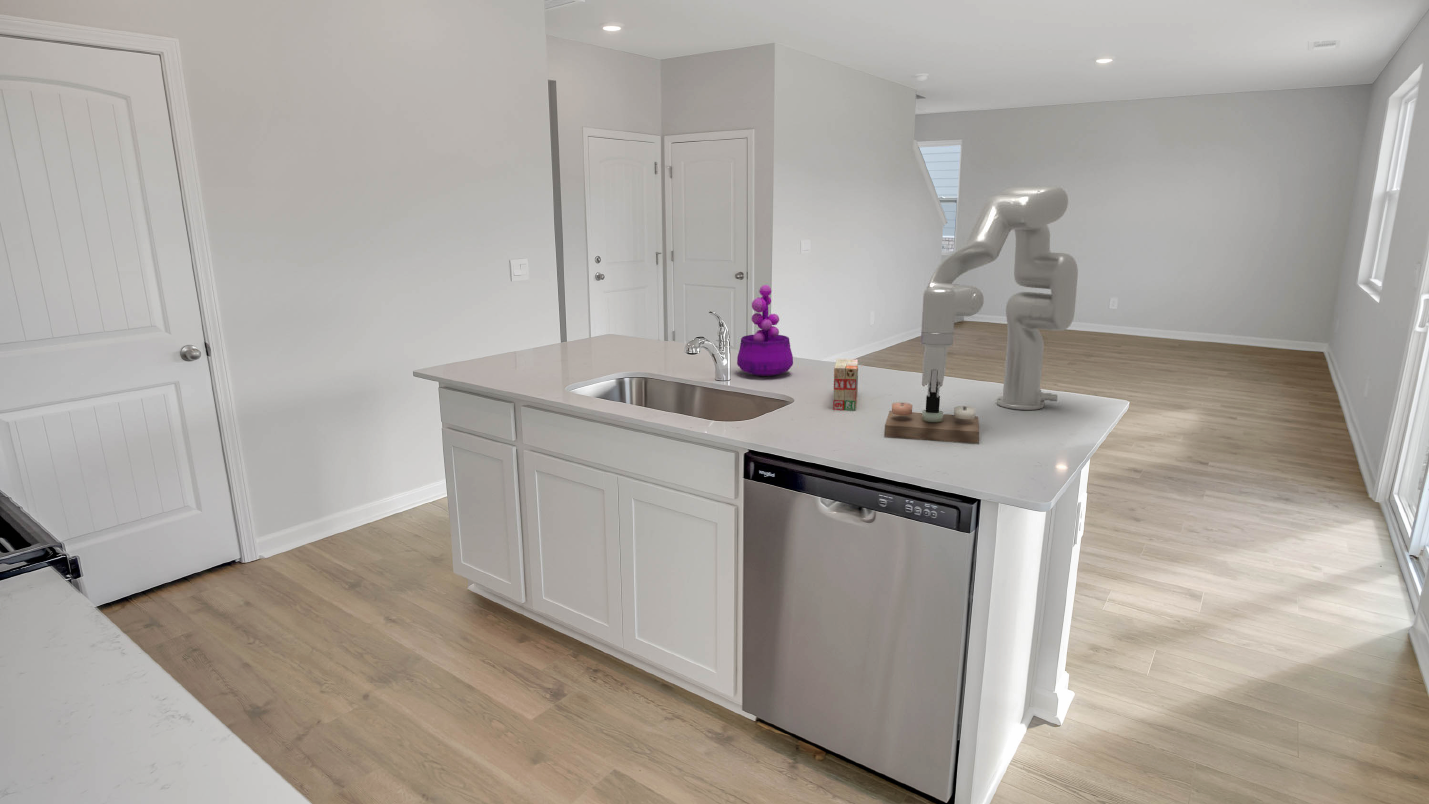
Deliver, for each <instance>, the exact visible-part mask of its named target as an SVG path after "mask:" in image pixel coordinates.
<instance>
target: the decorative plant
mask: <svg viewBox="0 0 1429 804" xmlns="http://www.w3.org/2000/svg"><path fill="white" fill-rule="evenodd" d="M758 292H759V294H760V295H761V297H756V298H754V299H753V300H752V302H751V308H752V310H753V311H754V312H756V313H753V314H752V315H751V321H752V323H753V324H754V325H757V327H758V328H759V330H757V331H756V332H755V333H754V334H748V335H744V336H742V337H741V338H740V345H739V349H738V354H737V360H736V365H737V366H738V367H739V369H740V370H741V371H743V372H745V373H747V374H750V375H753V376H759V377H760V376H761V377H770V376H771V377H772V376H778V375H780V374H783V373H786V372H788V371H789V370H790V369H791V368H792V367H793V365H794V355H793V352H792V349H791V343H790V338H789V336H787V335H782V334H780V330H779V328H778V327H776V325H778V324H779V321H780V316H779V315H778V314H776V313H770V314H769V305H770V304H771V303H772V299H771V297H770V295H771V294H772V289H771V287H770V285H767V284H764V285H762V286H760V288H759V290H758Z"/></svg>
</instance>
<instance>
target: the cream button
mask: <svg viewBox="0 0 1429 804" xmlns="http://www.w3.org/2000/svg"><path fill="white" fill-rule="evenodd" d="M953 415H954V417H956V418H959V419H974V418H975V416H976V408H975V407H973V406H967V405H961V406H960V405H959V406H954V408H953Z"/></svg>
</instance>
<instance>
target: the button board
mask: <svg viewBox="0 0 1429 804" xmlns="http://www.w3.org/2000/svg"><path fill="white" fill-rule="evenodd" d="M883 436H884V438H894V439H907V440H908V439H909V440H910V439H911V440H922V441H934V442H936V441H937V442H952V443H963V444H964V443H965V444H975V443H978V444H979V442H980V423H979V416H976V415H975V418H974V419H959V418H956V417H954V414H944V413H943V421H942V422H926V421H923V420H922V412H914V411H912V414H910V415H896V414H893V413H892V410H889V412H888V415H887V418H886V421H885V423H884V435H883Z"/></svg>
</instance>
